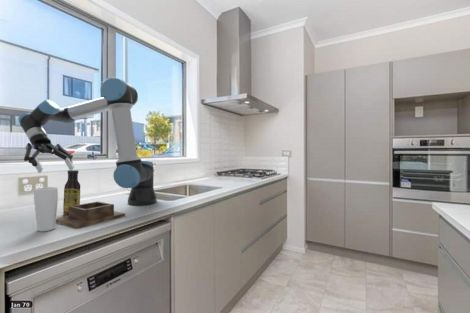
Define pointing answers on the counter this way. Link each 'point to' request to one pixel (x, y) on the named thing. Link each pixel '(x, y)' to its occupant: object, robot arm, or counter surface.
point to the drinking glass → (46, 208)
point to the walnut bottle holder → (89, 214)
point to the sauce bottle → (71, 191)
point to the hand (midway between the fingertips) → (57, 169)
